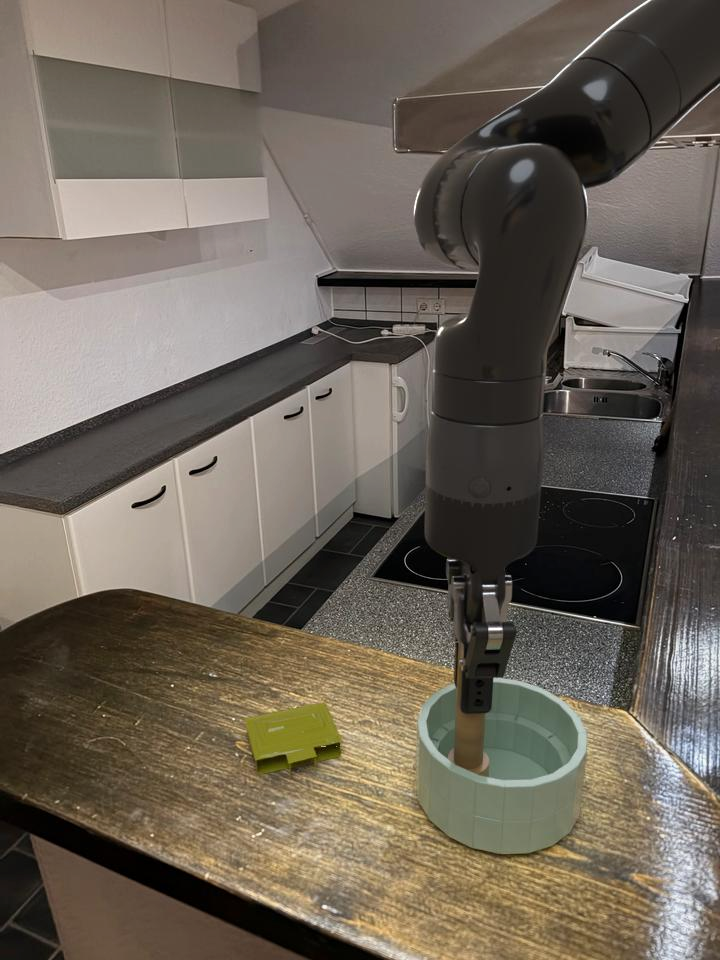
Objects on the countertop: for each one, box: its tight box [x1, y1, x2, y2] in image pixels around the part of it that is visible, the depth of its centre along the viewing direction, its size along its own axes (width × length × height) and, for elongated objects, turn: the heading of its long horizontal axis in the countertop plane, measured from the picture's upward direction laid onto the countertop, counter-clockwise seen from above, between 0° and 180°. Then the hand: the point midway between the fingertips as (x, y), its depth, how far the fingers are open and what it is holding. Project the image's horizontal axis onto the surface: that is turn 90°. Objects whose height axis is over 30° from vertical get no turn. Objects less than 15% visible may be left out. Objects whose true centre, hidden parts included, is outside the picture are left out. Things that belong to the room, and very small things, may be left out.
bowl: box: [415, 677, 588, 855], centre depth 58 cm, size 12×12×6 cm
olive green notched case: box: [226, 701, 366, 798], centre depth 64 cm, size 10×9×3 cm
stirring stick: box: [447, 641, 490, 777], centre depth 56 cm, size 3×3×12 cm
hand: (471, 697), depth 56 cm, fingers closed on stirring stick, 2 cm apart
